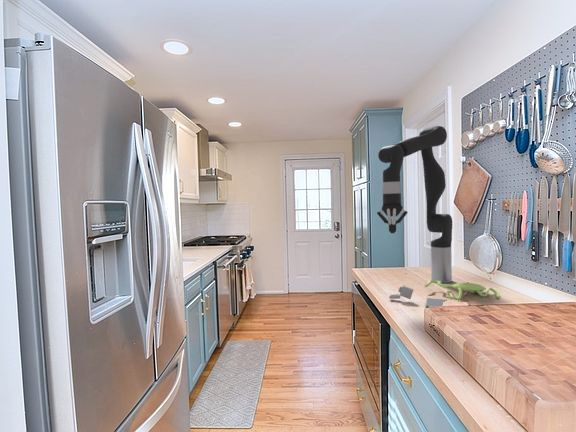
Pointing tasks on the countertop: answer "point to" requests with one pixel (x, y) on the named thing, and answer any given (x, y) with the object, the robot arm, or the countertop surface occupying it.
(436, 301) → the slate pad
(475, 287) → the figurine
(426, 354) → the countertop surface
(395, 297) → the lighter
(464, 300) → the countertop surface
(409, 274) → the countertop surface
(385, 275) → the countertop surface
